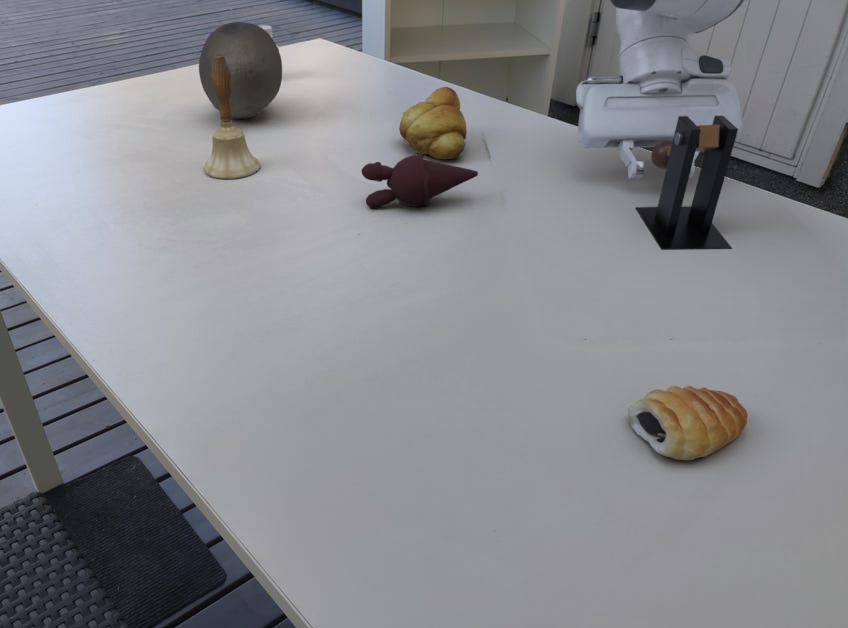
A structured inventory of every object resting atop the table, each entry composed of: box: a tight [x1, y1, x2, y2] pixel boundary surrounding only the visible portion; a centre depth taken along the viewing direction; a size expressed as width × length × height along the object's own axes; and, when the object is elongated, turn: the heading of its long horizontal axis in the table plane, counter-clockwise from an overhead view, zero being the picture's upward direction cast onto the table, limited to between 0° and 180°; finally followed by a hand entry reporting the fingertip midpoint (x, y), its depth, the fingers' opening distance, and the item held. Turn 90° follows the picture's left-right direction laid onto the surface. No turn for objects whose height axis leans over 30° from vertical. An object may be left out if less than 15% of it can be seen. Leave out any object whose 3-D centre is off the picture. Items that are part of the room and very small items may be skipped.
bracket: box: [634, 116, 738, 251], centre depth 86 cm, size 11×8×14 cm
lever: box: [650, 125, 720, 170], centre depth 88 cm, size 14×4×4 cm
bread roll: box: [398, 86, 468, 160], centre depth 111 cm, size 13×10×8 cm
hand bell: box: [203, 54, 262, 180], centre depth 105 cm, size 8×8×16 cm
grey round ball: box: [198, 21, 283, 120], centre depth 123 cm, size 14×14×15 cm
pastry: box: [627, 385, 748, 461], centre depth 61 cm, size 9×7×4 cm
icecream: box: [361, 152, 479, 209], centre depth 97 cm, size 7×7×15 cm
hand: (661, 176), depth 95 cm, fingers open, 5 cm apart
